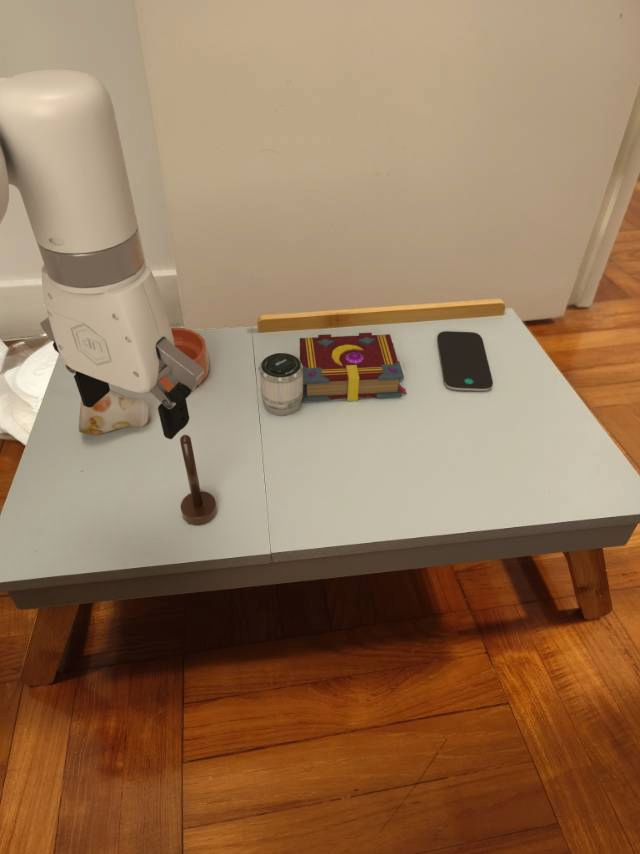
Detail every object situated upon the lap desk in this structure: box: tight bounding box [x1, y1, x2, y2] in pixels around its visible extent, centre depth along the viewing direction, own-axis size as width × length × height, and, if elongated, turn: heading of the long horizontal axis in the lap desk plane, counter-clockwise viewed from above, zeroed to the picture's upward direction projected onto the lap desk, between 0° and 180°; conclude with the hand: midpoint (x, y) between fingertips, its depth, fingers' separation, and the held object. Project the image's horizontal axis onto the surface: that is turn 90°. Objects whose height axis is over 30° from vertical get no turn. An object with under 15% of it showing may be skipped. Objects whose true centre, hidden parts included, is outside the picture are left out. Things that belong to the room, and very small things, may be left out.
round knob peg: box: [179, 434, 218, 526], centre depth 73 cm, size 4×4×14 cm
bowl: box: [159, 327, 210, 392], centre depth 96 cm, size 11×11×5 cm
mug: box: [78, 389, 150, 436], centre depth 87 cm, size 8×10×10 cm
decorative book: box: [299, 332, 408, 403], centre depth 96 cm, size 11×16×5 cm
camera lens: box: [258, 352, 303, 416], centre depth 91 cm, size 6×6×8 cm
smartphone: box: [436, 330, 494, 392], centre depth 101 cm, size 8×1×15 cm
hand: (136, 413), depth 60 cm, fingers open, 9 cm apart
